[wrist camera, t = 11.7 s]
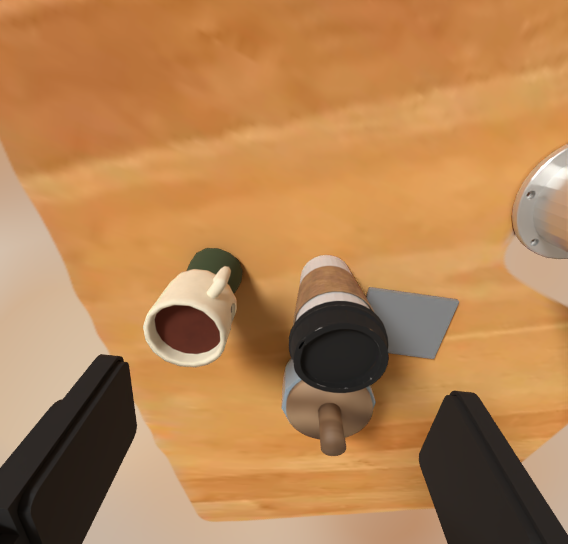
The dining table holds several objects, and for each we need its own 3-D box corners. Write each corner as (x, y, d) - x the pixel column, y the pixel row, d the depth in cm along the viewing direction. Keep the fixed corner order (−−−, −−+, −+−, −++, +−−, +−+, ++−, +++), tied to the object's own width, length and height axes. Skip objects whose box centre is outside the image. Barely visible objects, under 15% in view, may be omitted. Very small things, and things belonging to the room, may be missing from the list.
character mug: (218, 314, 42) (189, 392, 31) (169, 285, 40) (119, 355, 29) (267, 253, 38) (255, 315, 26) (215, 217, 36) (178, 267, 25)
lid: (359, 437, 44) (368, 482, 39) (281, 428, 44) (279, 472, 39) (381, 378, 40) (394, 420, 34) (293, 366, 39) (292, 407, 34)
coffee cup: (312, 232, 37) (323, 301, 23) (374, 265, 38) (418, 347, 25) (278, 288, 40) (269, 377, 27) (336, 317, 42) (355, 414, 28)
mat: (456, 299, 40) (459, 301, 40) (432, 356, 44) (433, 359, 44) (369, 287, 40) (370, 289, 39) (352, 345, 44) (352, 348, 43)
